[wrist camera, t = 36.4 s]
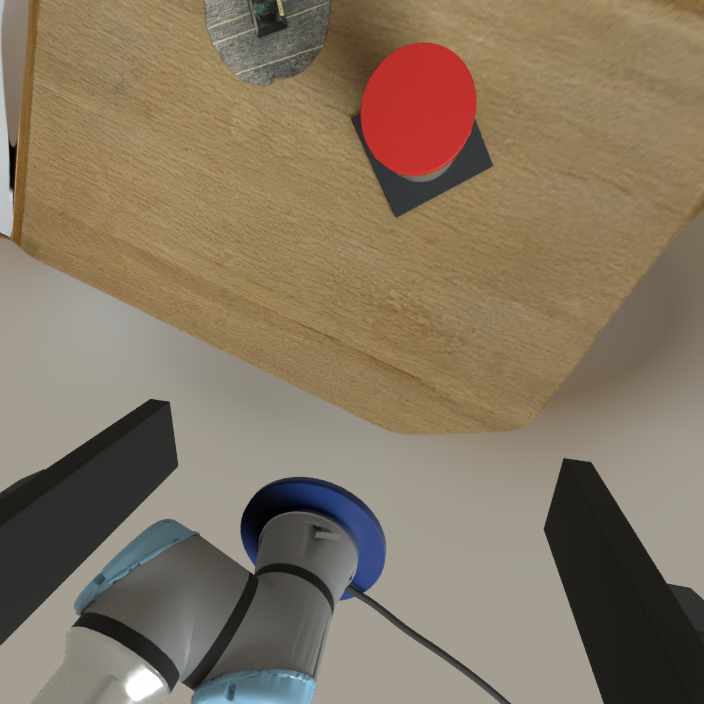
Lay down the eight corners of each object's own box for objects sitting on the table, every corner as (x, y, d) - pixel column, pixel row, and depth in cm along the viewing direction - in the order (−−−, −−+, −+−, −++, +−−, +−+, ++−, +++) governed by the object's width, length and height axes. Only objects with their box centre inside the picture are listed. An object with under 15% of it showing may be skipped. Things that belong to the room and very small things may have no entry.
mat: (492, 166, 37) (493, 165, 36) (396, 217, 40) (395, 217, 40) (450, 57, 35) (450, 55, 34) (352, 120, 38) (351, 119, 37)
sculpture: (356, 4, 35) (300, 32, 31) (319, 86, 43) (270, 115, 39) (259, -119, 33) (186, -104, 29) (238, -9, 41) (179, 13, 37)
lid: (362, 174, 29) (357, 172, 27) (368, 54, 27) (363, 43, 25) (464, 178, 28) (467, 176, 26) (482, 52, 25) (485, 41, 24)
